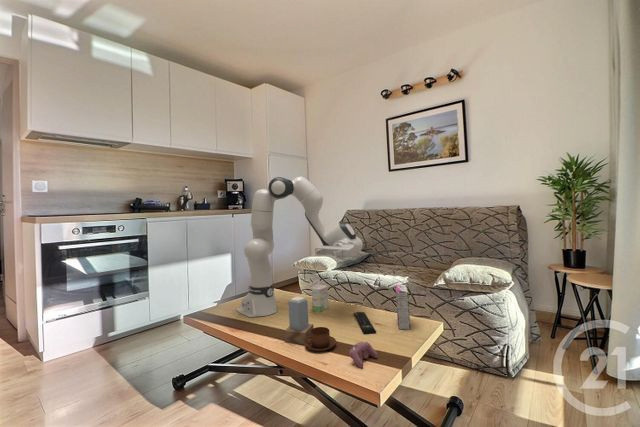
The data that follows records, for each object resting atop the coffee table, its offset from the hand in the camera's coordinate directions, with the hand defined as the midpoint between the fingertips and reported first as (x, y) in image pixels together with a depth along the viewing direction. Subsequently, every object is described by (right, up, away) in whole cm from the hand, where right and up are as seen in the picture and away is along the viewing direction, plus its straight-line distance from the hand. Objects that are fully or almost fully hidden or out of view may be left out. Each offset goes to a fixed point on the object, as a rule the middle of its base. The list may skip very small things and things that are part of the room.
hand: (324, 253), depth 140 cm
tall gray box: (-11, -28, -14) cm, 34 cm away
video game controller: (+13, -33, -35) cm, 49 cm away
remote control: (+18, -32, -1) cm, 37 cm away
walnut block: (-11, -33, -14) cm, 38 cm away
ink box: (-2, -32, +20) cm, 38 cm away
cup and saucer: (-2, -33, -22) cm, 40 cm away
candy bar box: (+34, -31, -5) cm, 46 cm away
